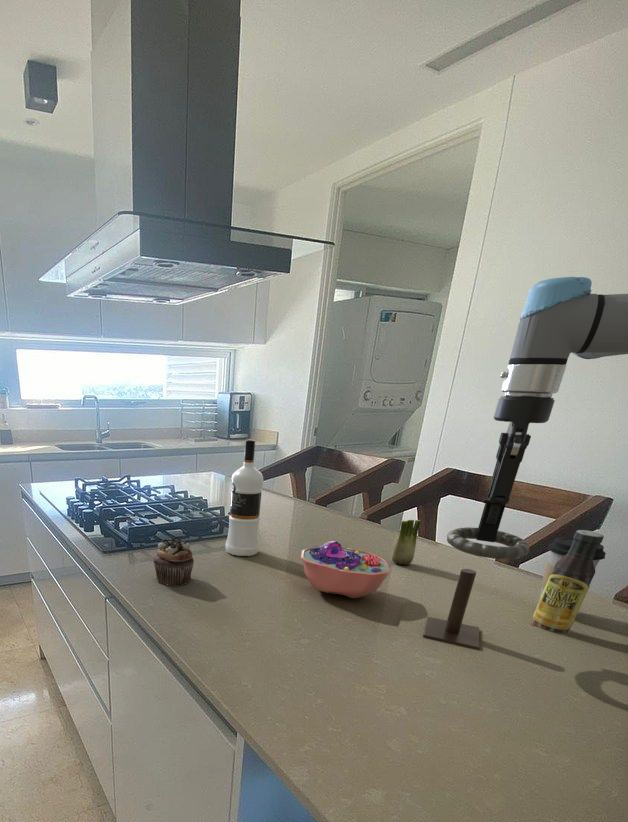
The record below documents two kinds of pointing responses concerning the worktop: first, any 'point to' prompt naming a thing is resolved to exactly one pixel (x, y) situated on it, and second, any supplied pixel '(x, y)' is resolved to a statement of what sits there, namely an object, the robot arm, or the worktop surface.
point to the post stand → (456, 617)
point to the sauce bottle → (568, 584)
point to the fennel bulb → (406, 542)
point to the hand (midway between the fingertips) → (485, 538)
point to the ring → (514, 550)
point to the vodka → (245, 506)
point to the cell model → (344, 570)
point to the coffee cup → (560, 550)
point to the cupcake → (173, 562)
